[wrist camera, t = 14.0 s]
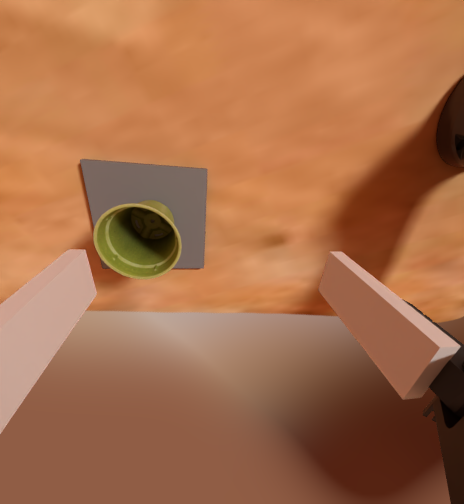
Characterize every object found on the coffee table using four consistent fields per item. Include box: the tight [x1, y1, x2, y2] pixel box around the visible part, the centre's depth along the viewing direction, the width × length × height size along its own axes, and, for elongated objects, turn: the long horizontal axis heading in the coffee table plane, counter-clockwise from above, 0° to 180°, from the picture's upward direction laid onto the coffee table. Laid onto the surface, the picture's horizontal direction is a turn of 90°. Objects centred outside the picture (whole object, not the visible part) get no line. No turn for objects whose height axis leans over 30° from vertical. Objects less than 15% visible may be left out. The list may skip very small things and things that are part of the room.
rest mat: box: [80, 159, 207, 269], centre depth 33 cm, size 16×16×1 cm
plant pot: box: [93, 200, 182, 279], centre depth 28 cm, size 9×9×9 cm
